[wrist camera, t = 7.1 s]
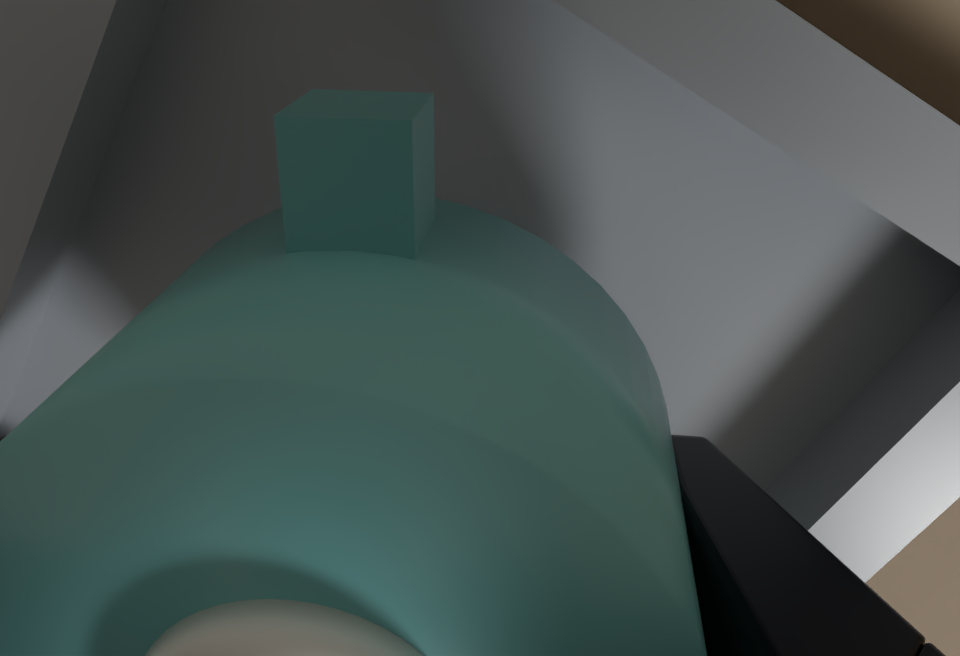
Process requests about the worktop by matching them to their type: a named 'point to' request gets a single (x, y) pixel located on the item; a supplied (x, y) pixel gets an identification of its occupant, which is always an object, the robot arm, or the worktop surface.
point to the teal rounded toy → (355, 439)
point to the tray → (538, 204)
